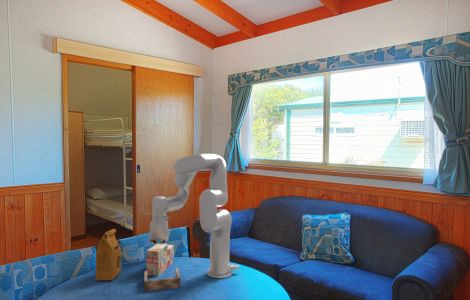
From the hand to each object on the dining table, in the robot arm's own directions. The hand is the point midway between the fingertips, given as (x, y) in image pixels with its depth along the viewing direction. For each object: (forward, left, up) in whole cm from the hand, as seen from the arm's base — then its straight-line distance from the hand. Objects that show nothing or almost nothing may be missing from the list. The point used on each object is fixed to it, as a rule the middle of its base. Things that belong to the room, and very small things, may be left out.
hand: (158, 251), depth 186 cm
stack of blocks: (0, +15, -4) cm, 16 cm away
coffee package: (+24, +22, -4) cm, 33 cm away
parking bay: (0, +35, -4) cm, 36 cm away
